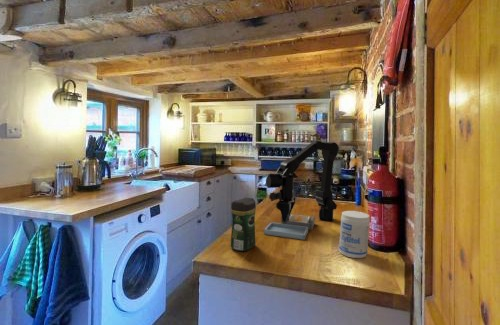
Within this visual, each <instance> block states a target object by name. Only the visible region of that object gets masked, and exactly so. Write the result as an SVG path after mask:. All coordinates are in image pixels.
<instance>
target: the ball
mask: <svg viewBox="0 0 500 325" xmlns="http://www.w3.org/2000/svg"><path fill="white" fill-rule="evenodd" d="M295 221H300V222H302V218H301V217H299V216H297V217H296V218H295Z"/></svg>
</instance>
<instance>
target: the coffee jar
mask: <svg viewBox="0 0 500 325" xmlns="http://www.w3.org/2000/svg"><path fill="white" fill-rule="evenodd" d="M256 208H257V205H256V200H255V199H254V198H253V197H248V196H246V197H245V196H244V197H243V198H238V199H237V200H233V201H232V202H231V203H230V211H231V233H230V248H231V249H232V250H234V251H237V252H247V251H249V250H251V249H252V248H254V247H255V245H256V221H255V220H256V219H255V218H256V217H255V216H256Z"/></svg>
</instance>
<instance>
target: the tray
mask: <svg viewBox="0 0 500 325" xmlns="http://www.w3.org/2000/svg"><path fill="white" fill-rule="evenodd" d="M308 232H309V229H308V227H304V226H297V225H289V224H287V223H280V222H270V223H268V224H267V226H265V228H264V229H263V234H264V235H268V236H275V237H281V238H288V239H295V240H302V241H304V240H305V239H306V237H307V235H308Z"/></svg>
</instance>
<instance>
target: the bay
mask: <svg viewBox="0 0 500 325" xmlns="http://www.w3.org/2000/svg"><path fill="white" fill-rule="evenodd" d="M286 224H289V225H297V226H304V227H308V230H310V231H311V230H313V229H314V226H315V215H312V216H311V217H310V223H303V222H295V221H287V223H286Z"/></svg>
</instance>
